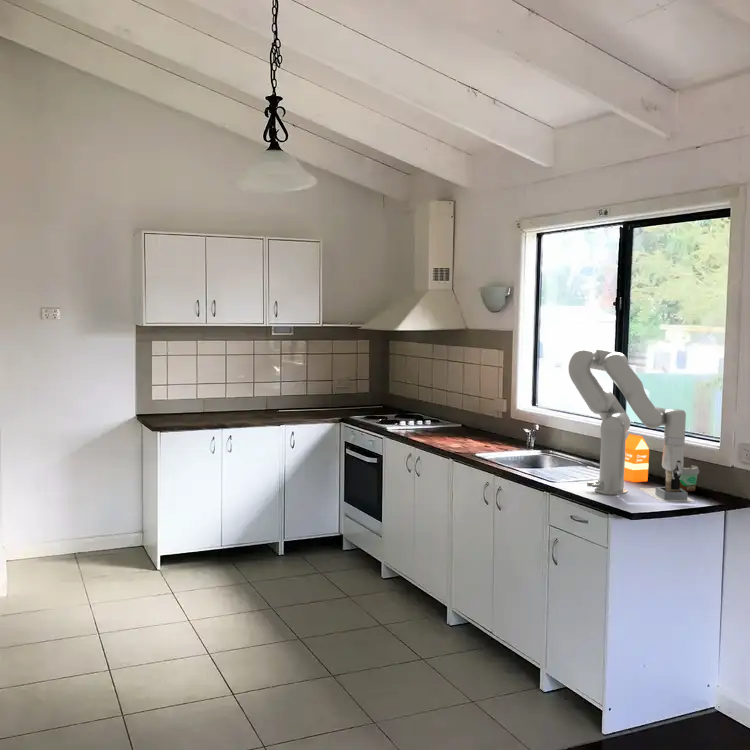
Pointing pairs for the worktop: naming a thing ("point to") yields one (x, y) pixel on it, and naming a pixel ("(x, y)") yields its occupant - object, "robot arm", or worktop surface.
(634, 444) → the orange juice
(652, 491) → the board
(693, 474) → the food container
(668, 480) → the plug
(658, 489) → the grey square tray
